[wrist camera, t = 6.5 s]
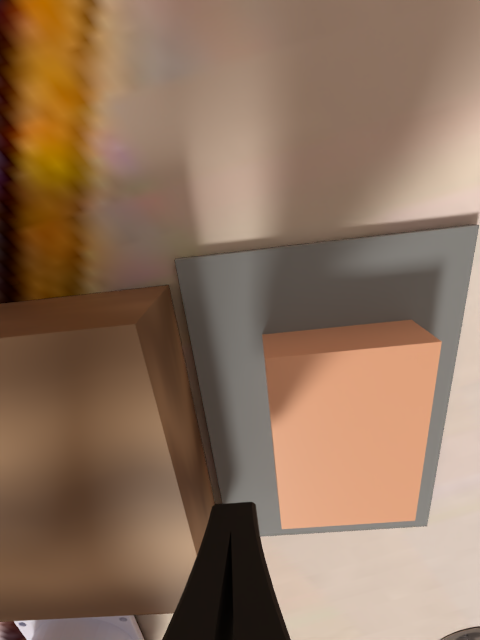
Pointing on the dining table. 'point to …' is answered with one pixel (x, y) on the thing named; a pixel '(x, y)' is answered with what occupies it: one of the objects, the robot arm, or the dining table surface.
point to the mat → (307, 314)
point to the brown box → (97, 458)
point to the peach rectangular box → (350, 421)
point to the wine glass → (465, 635)
